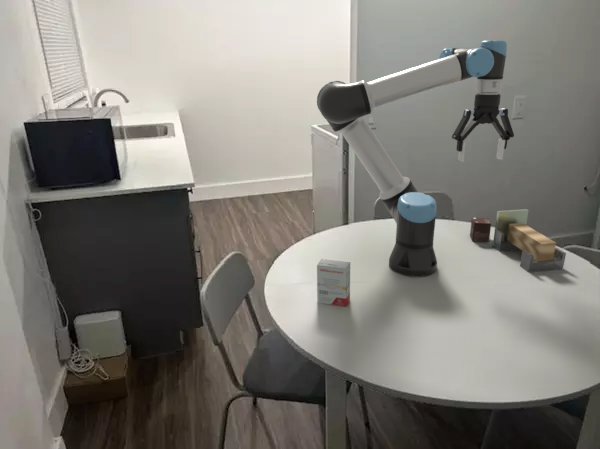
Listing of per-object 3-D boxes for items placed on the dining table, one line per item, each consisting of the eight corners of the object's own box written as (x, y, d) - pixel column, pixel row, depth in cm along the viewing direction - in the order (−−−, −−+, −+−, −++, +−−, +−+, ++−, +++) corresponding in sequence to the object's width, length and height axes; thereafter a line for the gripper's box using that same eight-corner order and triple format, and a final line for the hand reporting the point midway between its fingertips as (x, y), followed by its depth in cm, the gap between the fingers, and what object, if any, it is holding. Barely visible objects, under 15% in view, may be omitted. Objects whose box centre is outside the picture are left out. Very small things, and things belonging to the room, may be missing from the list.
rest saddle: (528, 272, 147) (531, 256, 145) (519, 265, 151) (522, 250, 149) (563, 268, 148) (566, 253, 146) (553, 262, 152) (556, 247, 151)
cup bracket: (499, 251, 162) (504, 216, 157) (491, 245, 167) (496, 211, 162) (531, 248, 164) (537, 213, 159) (522, 243, 168) (527, 208, 164)
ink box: (350, 299, 133) (351, 261, 128) (346, 307, 128) (347, 268, 124) (321, 294, 135) (321, 257, 131) (316, 302, 131) (316, 264, 127)
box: (489, 242, 170) (491, 223, 167) (471, 241, 171) (473, 222, 168) (486, 236, 175) (488, 218, 173) (469, 235, 176) (471, 217, 174)
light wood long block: (552, 260, 147) (556, 242, 145) (538, 261, 147) (541, 243, 145) (520, 239, 164) (523, 223, 162) (507, 240, 164) (509, 223, 161)
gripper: (456, 95, 141) (449, 164, 148) (532, 93, 144) (521, 160, 152) (445, 93, 148) (439, 159, 155) (517, 91, 151) (508, 155, 159)
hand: (480, 160), depth 153 cm, fingers open, 13 cm apart
